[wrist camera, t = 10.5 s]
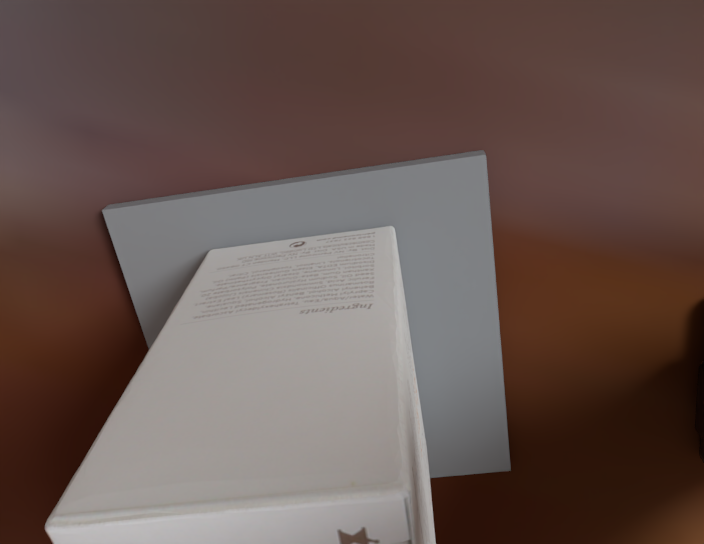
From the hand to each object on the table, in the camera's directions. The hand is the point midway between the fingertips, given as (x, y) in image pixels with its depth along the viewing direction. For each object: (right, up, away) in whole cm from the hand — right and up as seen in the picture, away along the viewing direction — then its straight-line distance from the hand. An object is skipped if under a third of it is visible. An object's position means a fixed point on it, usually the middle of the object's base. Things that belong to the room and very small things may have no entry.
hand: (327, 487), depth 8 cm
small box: (0, 0, +13) cm, 13 cm away
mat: (-1, 0, +13) cm, 13 cm away
